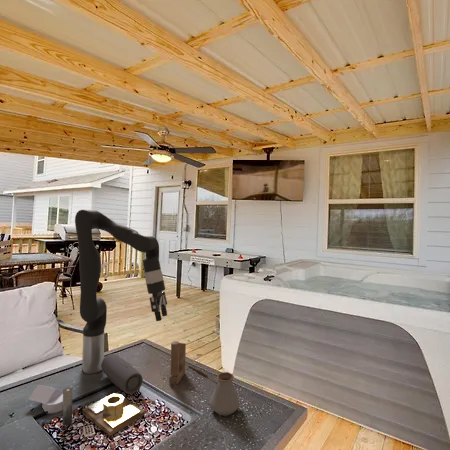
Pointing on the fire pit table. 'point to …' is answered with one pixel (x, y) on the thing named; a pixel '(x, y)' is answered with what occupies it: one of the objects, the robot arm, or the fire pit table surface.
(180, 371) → the wooden block
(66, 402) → the pin
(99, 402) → the hinge
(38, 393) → the wedge on round base
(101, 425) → the board
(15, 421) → the fire pit table surface
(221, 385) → the coffee pot
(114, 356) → the bluetooth speaker
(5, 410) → the fire pit table surface
